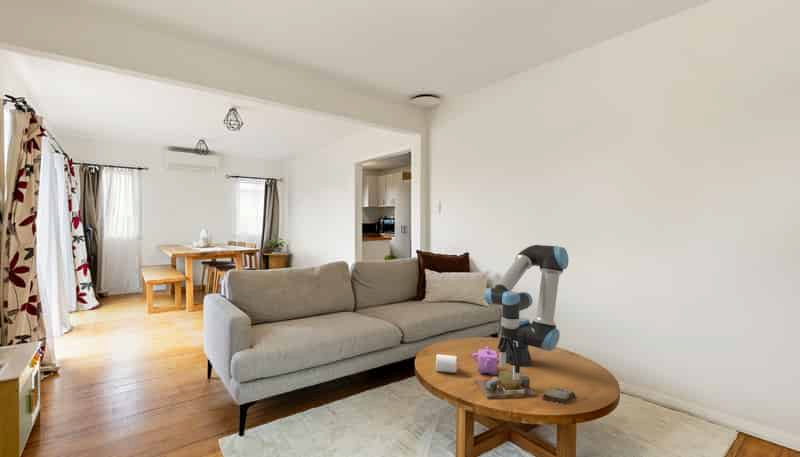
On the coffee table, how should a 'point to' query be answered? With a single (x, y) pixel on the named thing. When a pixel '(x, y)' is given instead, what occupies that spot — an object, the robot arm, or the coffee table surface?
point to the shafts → (493, 383)
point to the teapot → (487, 361)
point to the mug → (446, 363)
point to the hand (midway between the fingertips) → (509, 372)
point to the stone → (558, 395)
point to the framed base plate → (504, 391)
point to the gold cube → (507, 380)
